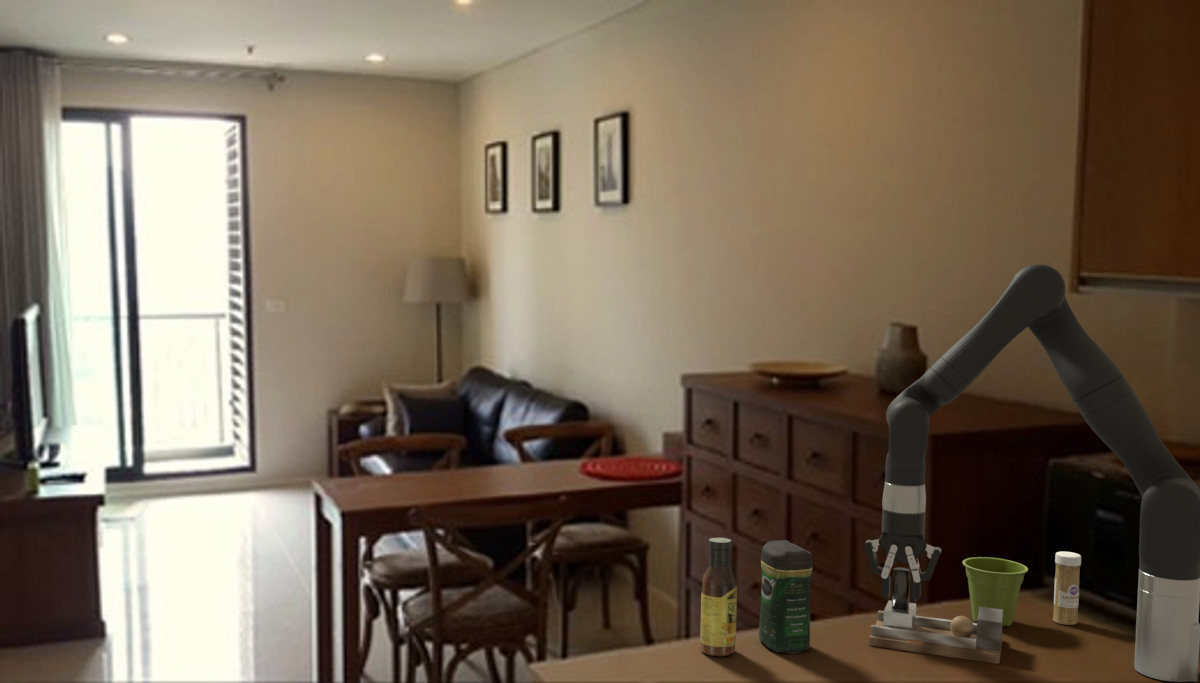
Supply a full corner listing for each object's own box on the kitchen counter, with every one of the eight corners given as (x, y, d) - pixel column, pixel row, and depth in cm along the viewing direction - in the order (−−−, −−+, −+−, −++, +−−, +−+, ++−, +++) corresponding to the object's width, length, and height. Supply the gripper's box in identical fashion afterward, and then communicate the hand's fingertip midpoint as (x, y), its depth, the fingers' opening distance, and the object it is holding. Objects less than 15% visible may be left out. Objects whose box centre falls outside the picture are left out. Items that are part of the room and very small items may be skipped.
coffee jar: (816, 653, 189) (820, 549, 188) (775, 657, 187) (778, 551, 186) (792, 634, 199) (795, 535, 197) (752, 638, 196) (755, 538, 195)
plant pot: (1035, 633, 202) (1037, 574, 201) (971, 631, 202) (973, 572, 201) (1012, 613, 214) (1015, 557, 213) (952, 611, 214) (954, 555, 213)
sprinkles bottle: (1067, 627, 205) (1070, 557, 205) (1047, 620, 209) (1050, 552, 209) (1083, 623, 208) (1086, 555, 207) (1063, 616, 212) (1066, 549, 211)
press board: (1001, 640, 197) (1003, 605, 197) (999, 664, 185) (1001, 627, 185) (879, 623, 206) (880, 590, 205) (869, 645, 194) (870, 609, 193)
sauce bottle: (734, 659, 185) (737, 546, 184) (697, 656, 187) (700, 543, 185) (737, 646, 192) (739, 536, 190) (702, 643, 193) (704, 534, 192)
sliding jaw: (915, 624, 200) (917, 566, 199) (911, 636, 194) (913, 576, 193) (888, 621, 202) (890, 563, 201) (883, 632, 196) (885, 573, 195)
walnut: (973, 636, 195) (974, 614, 195) (972, 643, 191) (973, 621, 191) (950, 633, 196) (951, 611, 196) (948, 640, 193) (949, 618, 192)
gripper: (946, 506, 197) (943, 598, 198) (867, 499, 202) (864, 589, 204) (943, 515, 190) (939, 610, 191) (861, 507, 196) (857, 600, 197)
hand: (900, 598), depth 197 cm, fingers open, 4 cm apart
